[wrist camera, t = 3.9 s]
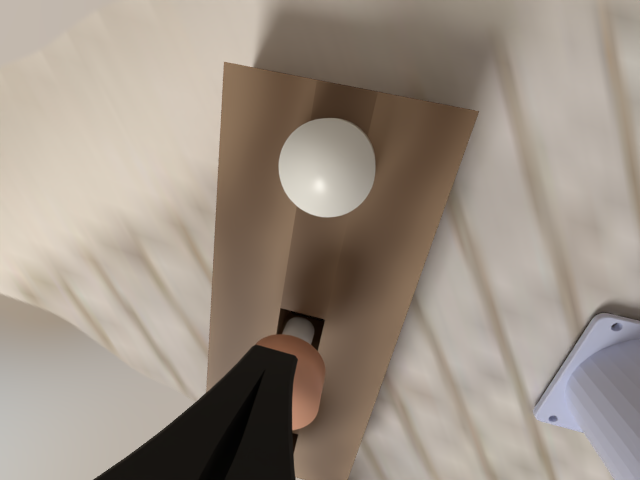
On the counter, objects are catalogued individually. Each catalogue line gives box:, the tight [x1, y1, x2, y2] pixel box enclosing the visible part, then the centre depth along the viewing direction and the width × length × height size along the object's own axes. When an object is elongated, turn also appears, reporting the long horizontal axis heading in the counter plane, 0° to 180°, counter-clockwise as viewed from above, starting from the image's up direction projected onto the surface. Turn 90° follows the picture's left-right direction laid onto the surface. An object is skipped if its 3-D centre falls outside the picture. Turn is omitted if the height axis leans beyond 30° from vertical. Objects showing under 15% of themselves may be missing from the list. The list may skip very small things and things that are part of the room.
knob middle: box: [255, 317, 326, 430], centre depth 15 cm, size 4×4×4 cm
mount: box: [206, 62, 479, 480], centre depth 18 cm, size 10×24×3 cm, turn 170°
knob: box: [279, 118, 375, 217], centre depth 14 cm, size 4×4×4 cm
